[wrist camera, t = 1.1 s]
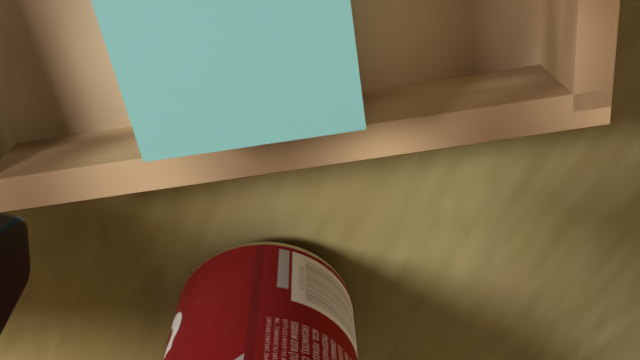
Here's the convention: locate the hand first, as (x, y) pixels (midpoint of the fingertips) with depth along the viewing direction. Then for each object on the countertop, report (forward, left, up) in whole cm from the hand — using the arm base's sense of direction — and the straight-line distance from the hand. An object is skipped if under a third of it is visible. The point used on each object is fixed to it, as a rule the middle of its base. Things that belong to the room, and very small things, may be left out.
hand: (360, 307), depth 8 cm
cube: (-2, +2, -11) cm, 11 cm away
